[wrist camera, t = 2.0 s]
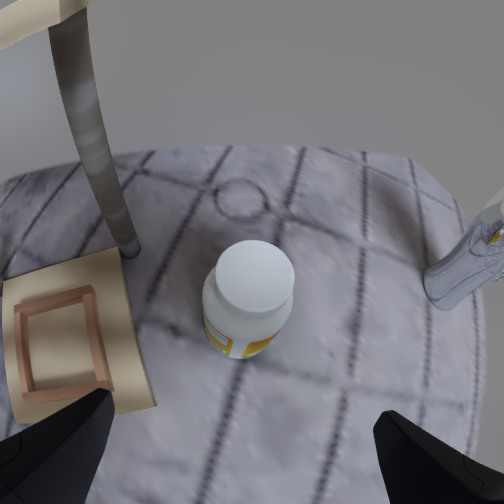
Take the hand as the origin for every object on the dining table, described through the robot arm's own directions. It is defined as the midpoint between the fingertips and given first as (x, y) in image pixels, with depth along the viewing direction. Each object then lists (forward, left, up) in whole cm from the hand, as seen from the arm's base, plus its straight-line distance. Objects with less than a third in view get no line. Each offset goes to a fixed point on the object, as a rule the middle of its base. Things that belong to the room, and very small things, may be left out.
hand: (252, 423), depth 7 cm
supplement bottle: (+4, -5, -13) cm, 15 cm away
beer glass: (-10, -24, -13) cm, 29 cm away
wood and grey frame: (+14, +7, -13) cm, 20 cm away
